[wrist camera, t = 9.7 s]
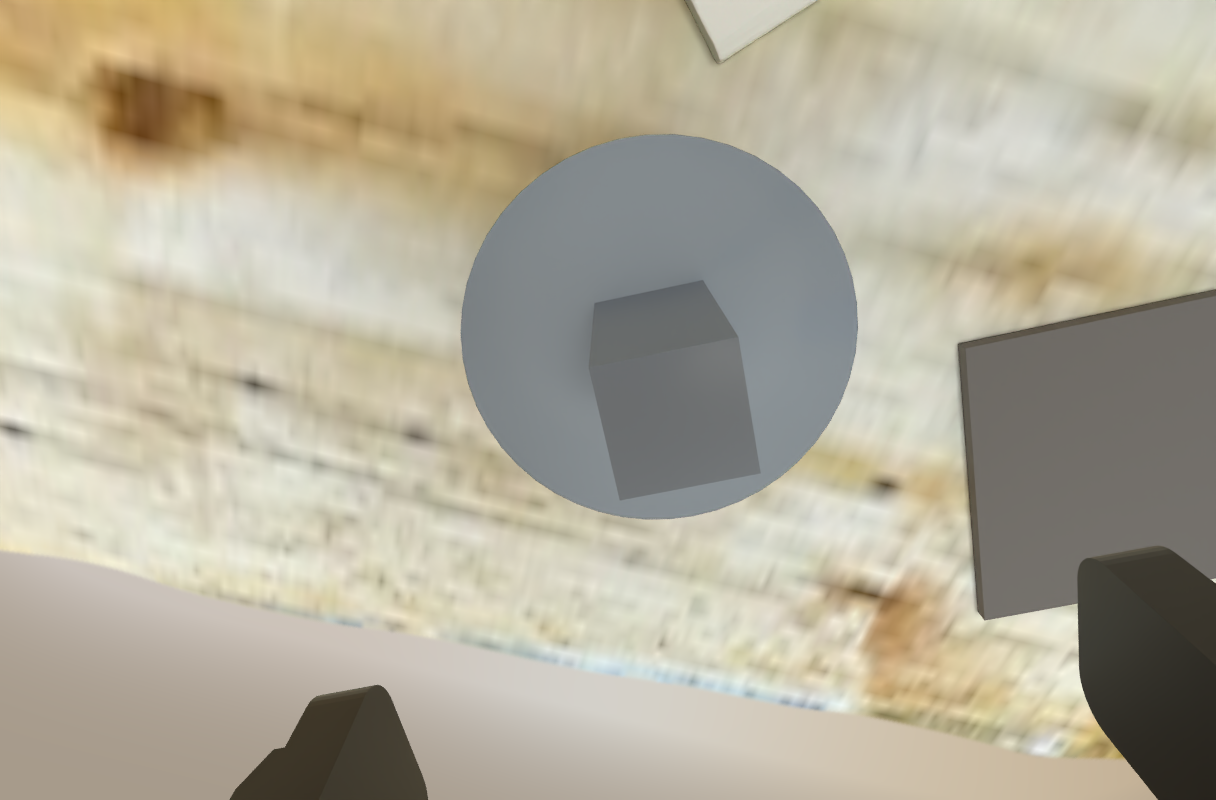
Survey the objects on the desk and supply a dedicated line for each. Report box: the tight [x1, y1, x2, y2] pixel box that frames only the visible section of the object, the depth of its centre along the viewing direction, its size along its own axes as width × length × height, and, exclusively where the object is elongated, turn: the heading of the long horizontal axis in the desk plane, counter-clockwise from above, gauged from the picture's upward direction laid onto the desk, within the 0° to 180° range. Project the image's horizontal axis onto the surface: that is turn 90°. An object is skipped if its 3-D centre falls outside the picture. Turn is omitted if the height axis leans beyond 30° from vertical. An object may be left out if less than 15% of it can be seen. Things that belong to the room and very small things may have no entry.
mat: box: [958, 290, 1216, 620], centre depth 29 cm, size 12×12×1 cm
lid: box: [461, 134, 858, 519], centre depth 19 cm, size 11×11×7 cm
